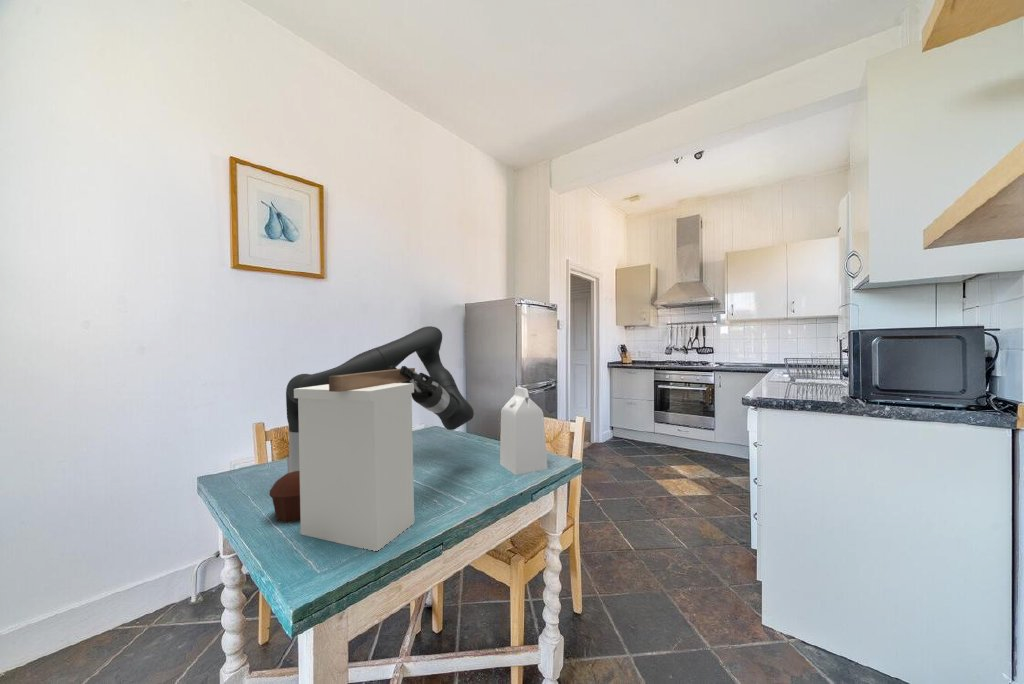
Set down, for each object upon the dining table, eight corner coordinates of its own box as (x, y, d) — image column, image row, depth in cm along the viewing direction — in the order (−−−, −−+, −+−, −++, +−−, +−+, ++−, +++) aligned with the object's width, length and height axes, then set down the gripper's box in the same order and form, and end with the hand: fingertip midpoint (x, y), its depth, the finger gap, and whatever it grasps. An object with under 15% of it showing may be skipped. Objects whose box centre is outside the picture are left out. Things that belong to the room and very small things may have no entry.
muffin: (261, 517, 88) (260, 475, 88) (307, 500, 97) (307, 462, 97) (284, 530, 81) (283, 485, 81) (332, 510, 90) (331, 470, 91)
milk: (547, 468, 117) (545, 388, 117) (515, 475, 112) (513, 391, 112) (529, 458, 128) (527, 385, 128) (499, 464, 123) (498, 387, 123)
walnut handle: (329, 391, 72) (328, 376, 72) (405, 379, 94) (405, 368, 94) (340, 391, 71) (340, 376, 71) (415, 379, 93) (414, 368, 93)
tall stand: (296, 536, 78) (293, 388, 78) (347, 508, 91) (344, 382, 91) (373, 554, 71) (370, 391, 71) (417, 521, 84) (413, 383, 84)
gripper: (414, 383, 107) (378, 356, 93) (456, 384, 102) (424, 355, 88) (407, 407, 103) (368, 382, 89) (449, 409, 98) (415, 383, 84)
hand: (396, 369), depth 89 cm, fingers closed on walnut handle, 3 cm apart
